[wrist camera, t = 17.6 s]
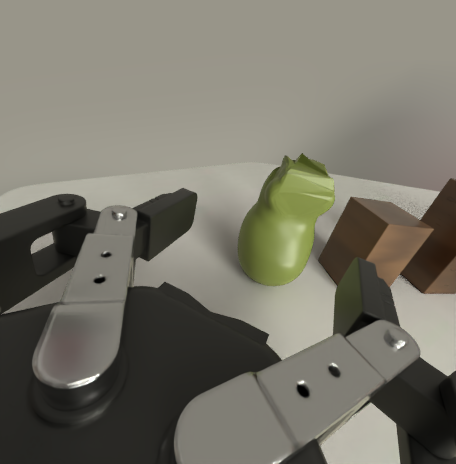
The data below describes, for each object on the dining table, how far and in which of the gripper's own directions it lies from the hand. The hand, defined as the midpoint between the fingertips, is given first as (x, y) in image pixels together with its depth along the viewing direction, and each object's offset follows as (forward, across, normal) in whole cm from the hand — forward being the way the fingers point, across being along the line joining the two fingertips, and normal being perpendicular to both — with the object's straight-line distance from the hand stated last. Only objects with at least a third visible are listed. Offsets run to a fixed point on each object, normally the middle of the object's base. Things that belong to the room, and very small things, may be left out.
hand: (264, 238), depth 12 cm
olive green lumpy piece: (+6, 0, +7) cm, 10 cm away
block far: (+17, -15, +7) cm, 24 cm away
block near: (+12, -8, +7) cm, 16 cm away
